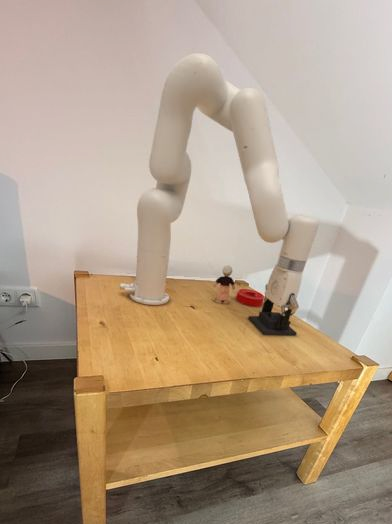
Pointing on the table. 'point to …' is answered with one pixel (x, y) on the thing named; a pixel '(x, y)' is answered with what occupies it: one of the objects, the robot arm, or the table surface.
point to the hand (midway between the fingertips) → (272, 320)
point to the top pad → (270, 320)
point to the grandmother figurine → (224, 285)
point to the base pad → (271, 331)
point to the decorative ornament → (250, 297)
